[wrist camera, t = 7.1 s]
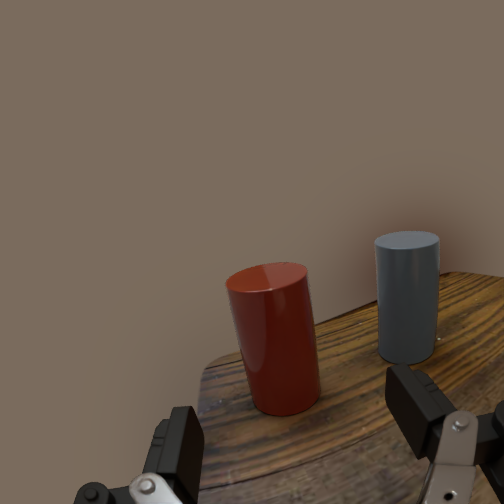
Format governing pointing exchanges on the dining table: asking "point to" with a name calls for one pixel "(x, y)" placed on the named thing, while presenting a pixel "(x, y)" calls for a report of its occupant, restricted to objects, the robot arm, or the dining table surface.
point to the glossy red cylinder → (276, 336)
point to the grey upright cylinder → (407, 295)
